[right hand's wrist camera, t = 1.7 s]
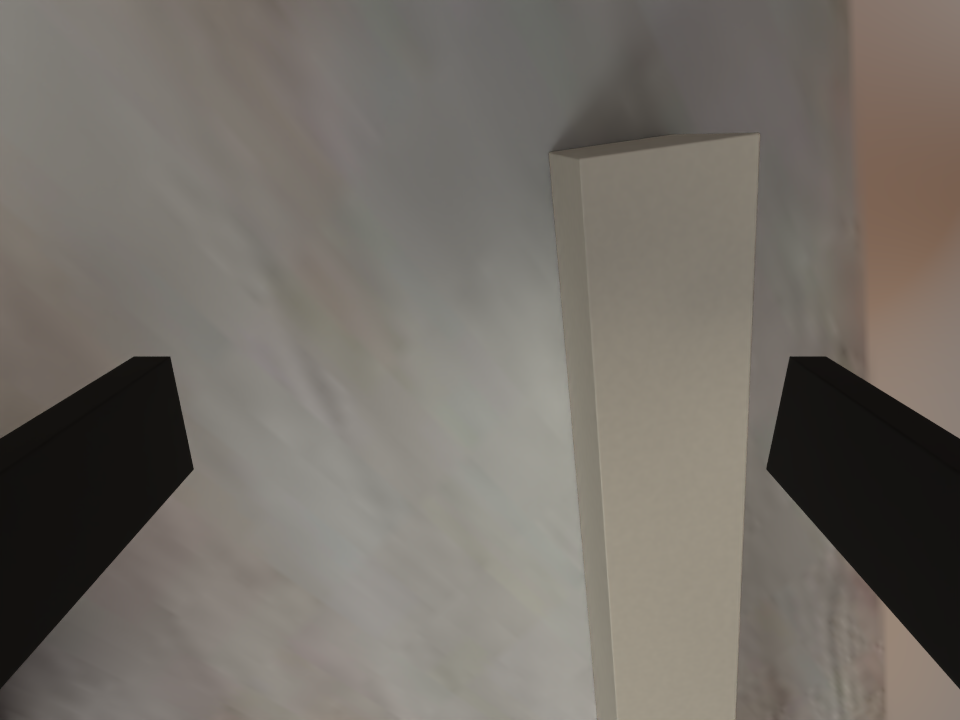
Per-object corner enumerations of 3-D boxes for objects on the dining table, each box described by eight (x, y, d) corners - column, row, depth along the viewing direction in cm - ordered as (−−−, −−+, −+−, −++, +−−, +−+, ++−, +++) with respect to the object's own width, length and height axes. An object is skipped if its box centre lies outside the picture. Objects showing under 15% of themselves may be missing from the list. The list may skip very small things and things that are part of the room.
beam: (548, 152, 26) (578, 158, 18) (673, 134, 26) (761, 132, 18) (608, 849, 46) (636, 1003, 38) (680, 843, 46) (724, 997, 37)
